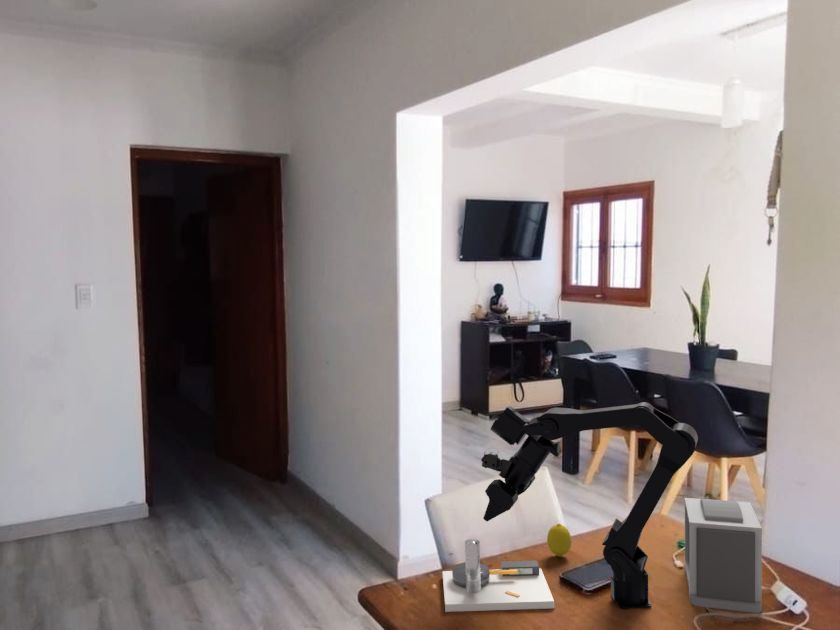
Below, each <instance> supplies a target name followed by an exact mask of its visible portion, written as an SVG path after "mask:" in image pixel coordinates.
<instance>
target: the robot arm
mask: <svg viewBox="0 0 840 630" xmlns="http://www.w3.org/2000/svg"><path fill="white" fill-rule="evenodd" d="M631 426H633V427H634V426H640V427H641V428H642V429H644V430H645V432H647V433H648V434H649V435H650V436H651V437H652V438H653V440H655V441H656V442H657V443H659V444H660V445H661V449H660V451H659V455H658V458H657V462H656V464H655V466H654V468H653V470H652V472H651V474H650V475H649V477H648V478H647V480H646V482H645V484H644V486H643V488H642V490H641V492H640V493H639V495H638V497H637V499H636V500H635V502H634V504H633V506H632V507H631V509H630V511H629V513H628V515H627V516H626V517H625V518H624V519H623V520H622V521H620V519H618V518H615V520H614V521H613V523H612V526H611V528H610V530H609V531H608V532H607V534H606V536H605V537H604V539H603V541H602V543H601V544H602V545H601V546H604V547H603V550H602V555H603V558H604V560H605V561H606V563H607V564H608V565H609V566H610V568H611V570H612V576H610V596H611V598H612V599H613V601H614V602H615V604H616V606H617V607H618V608H620V609H647V608H652V604H651V602H650V601H649V574H648V572H647V571H646V569H645V568H646V564H647V561H648V559H649V556H648V554H647V553H645V552H644V551H643V549H642V548H641V547H640V546H639V542H640V539H641V536H642V532H643V530H644V528H645V526H646V525H647V522H648V521H649V519H650V517H651V515H652V514H653V512H654V510H655V508H656V506H657V505H658V503H659V502H660V500H661V498H662V496H663V494H664V492H665V491H666V489H667V487H668V485H669V484H670V482H671V480H672V479H673V477H674V475H675V474H677V472H678V471H679V470H681V468H683V466H684V465H685V464H686V463H687V461H689V459H690V458H691V457H692V456H693V454H694V453H695V451H696V448H697V443H698V440H699V436H698V433H697V431H696V430H695V428H694V427H693V426H692V425H690V424H688V423H685V422H679V421H677V420H676V419H675V418H673V417H672V416H670V415H668V414H666V413H665V412H662V411H661V410H659V409H657V408H656V407H654V406H653V405H652V404H651V403H649V402H646V401H645V402H644V401H643V402H641V401H640V402H638V403H636V404H628V405H617V406H610V407H609V406H608V407H601V408H593V409H586V410H585V409H575V408H570V407H569V408H568V407H552V408H549V409H548V410H547V411H545V412H544V413H542V414H541V415H540V416H537V417H533V418H531V419H530V420H528V418H526V417H524V416H523V415H522V414H521V413H520V412H518V411H517V410H516V409H515V408H514V407H513V406H511V405H509V406H506V408H505V409H504V411H503V412H502V413H501V414H500V415H499V417H498V418H496V419H495V420H494V421H493V423H492V425H491V427H490V429H489V430H490V431H491V432H493V433H494V434H495V435H496V436H498V437H500V439H502V440H503V441H504V442H506V443H507V444H508V445H509V446H514V445H515V444H516V445H517V446H519V445H520V444H521V443H522V441H523V440H524V439H525V438H526V439H525V440H524V442H523V443H522V445H521V446H520V447H519V449H518V450H517V451H515V453H514V454H513V455H512V454H509V453H508V452H506V451H502V450H499V449H496V448H493V447H490V448H488V449H486V450H485V451H484V452H483V453H484V454H483V457H482V458H481V459H480V461H481V467H483V468H484V469H490V470H493V471H496V472H500V473H498V476H499V477H501V478H502V479H504V481H503V480H502V479H499V478H498V479H493V481H491V483H490V484H489V485H488V486H487V488H486V489H485V491H484V492H485V494H486V496H487V497H488V504H487V507H486V510H485V512H484V514H483V520H485V522H489V521H491V520H493V519H495V518H496V517H498V516H500V515H502V514H504V513H506V512H508V511H510V510H511V509H512V508H513V507H514V505H515V504H516V502H517V501H518V499H519V496H520V495H522V494H523V493H524V492H525V493H526V491H527V489H529V488H530V487H531V485H532V484H533V483H534V481H535V480H536V474H537V473H538V471H539V470H540V469H541V467H542V465H543V464H544V462H545V461H546V460H547V458H548V456H549V455H550V454H552V455H553V456H554V457H555V458H558V457H559V456H560V455H561V454H562V453H563V451H562V447H561V442H560V441H556V440H559V439H562V438H567V437H569V436H572V435H574V434H576V433H581V432H584V431H593V430H603V429H611V428H612V429H613V428H620V427H623V428H624V427H631Z"/></svg>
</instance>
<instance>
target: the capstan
mask: <svg viewBox="0 0 840 630" xmlns="http://www.w3.org/2000/svg"><path fill="white" fill-rule="evenodd" d="M480 545H481V543H480V540H478V539H475V538H471V539H467V540H465V541H464V552H465V557H464V559H465V562H461V563H459V564H456V565H455V566H453V568H452V570H451V571H452V576H453V582H454V583H455V584H456V585H458V586H460V587H465V588H466V590H467V591H468V592H470V593H477V592H479V591H481V587H482V586H485V585H486V584H488V583H489V581H490V575H495V574H517V569H515V570H496V569H490V568H489V567H488V566H487V565H485V564H484V563H481V546H480Z"/></svg>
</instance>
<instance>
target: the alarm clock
mask: <svg viewBox="0 0 840 630" xmlns="http://www.w3.org/2000/svg"><path fill="white" fill-rule="evenodd" d="M762 535H763V528H762V526H761V523H760V521H759V519H758V517H757V514H756V512H755V510H754V509H753V506H752V503H751V502H749V501H736V500H724V499H723V500H722V499H721V500H720V499H708V498H696V497H695V498H693V497H691V498H690V497H684V572H685V576H686V580H687V585H688V598H689V604H691V605H692V606H694V607H700V608H709V609H711V608H712V609H719V610H727V611H736V612H737V611H738V612H745V613H753V614H758V613H761V612H763V602H762V590H763V589H762V587H763V586H762V577H763V576H762V573H763V572H762V571H763V569H762V567H763V566H762V564H763V563H762V561H763V560H762V559H763V556H762V555H763V551H762V550H763V544H762V543H763V536H762Z"/></svg>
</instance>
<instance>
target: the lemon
mask: <svg viewBox="0 0 840 630" xmlns="http://www.w3.org/2000/svg"><path fill="white" fill-rule="evenodd" d="M571 536H572V535H571V532H570V531H569V529H568V528H567V527H566V526H565V525H563V524H561V523H557V524H554V525H553V526H551V527H550V529H549V530H548V533H547V538H546V540H547V541H546V542H547V547H548V549H549V550H550V551H551V553H552V554H555V555H556V556H557V557H558V558H561V557H562V556H563V555H566V554H567V553H568V552H569V551H570V549H571V546H572V537H571Z"/></svg>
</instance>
